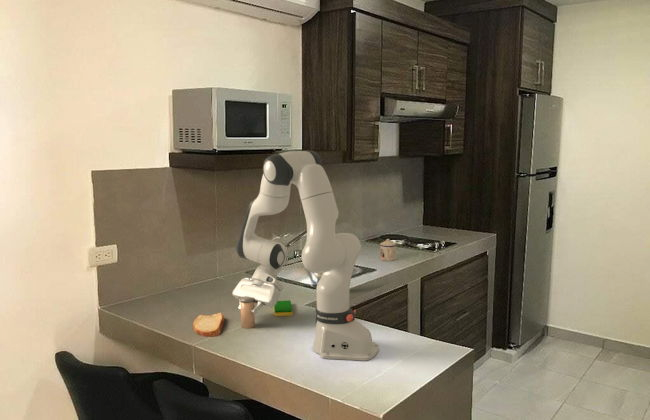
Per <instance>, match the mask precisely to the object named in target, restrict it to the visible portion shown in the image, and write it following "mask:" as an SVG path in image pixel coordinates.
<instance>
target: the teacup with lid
mask: <svg viewBox="0 0 650 420" xmlns="http://www.w3.org/2000/svg"><path fill="white" fill-rule="evenodd" d="M379 246H380V250H379V251H380V252H379V253H380V254H379V255H380V260H381V261H385V262H392V261H395V260H396V258H397V256H396V254H397V251H396V250H397V248H396V246H397V243H396V242H393V241H392V240H390V239H389V238H387V239H386V240H385V241H382V242H380V243H379Z"/></svg>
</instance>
